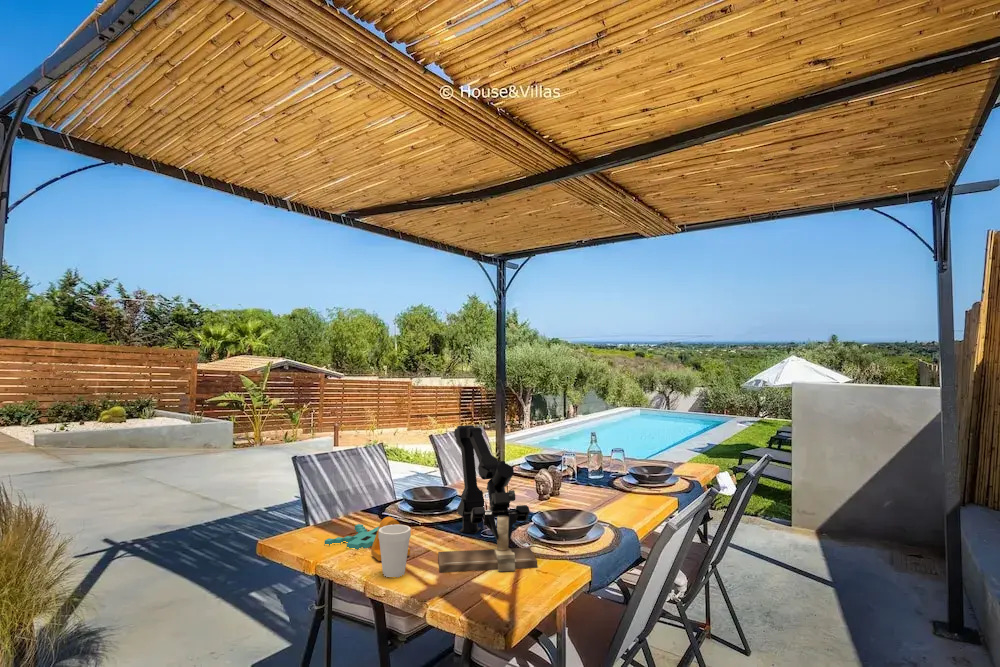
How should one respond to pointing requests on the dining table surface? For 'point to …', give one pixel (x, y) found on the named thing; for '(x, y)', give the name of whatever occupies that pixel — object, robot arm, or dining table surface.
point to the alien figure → (357, 538)
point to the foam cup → (394, 549)
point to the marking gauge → (504, 546)
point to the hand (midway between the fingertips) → (503, 538)
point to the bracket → (376, 544)
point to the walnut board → (482, 560)
